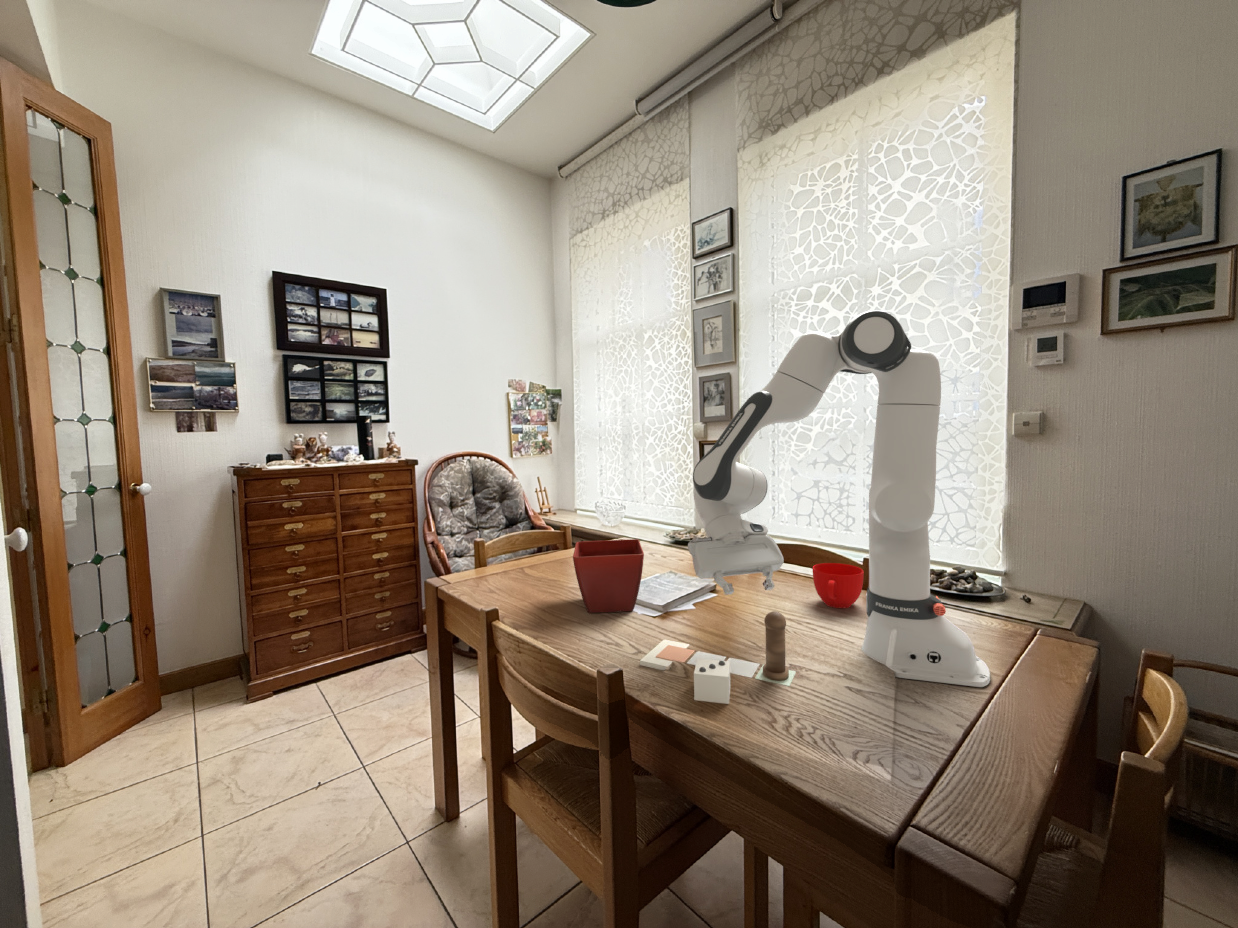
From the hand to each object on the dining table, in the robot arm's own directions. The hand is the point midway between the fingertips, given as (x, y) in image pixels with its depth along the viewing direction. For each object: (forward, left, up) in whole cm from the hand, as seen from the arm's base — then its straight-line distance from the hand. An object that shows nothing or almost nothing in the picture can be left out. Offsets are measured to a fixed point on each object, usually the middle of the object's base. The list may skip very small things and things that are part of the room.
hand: (750, 590), depth 104 cm
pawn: (-7, +7, -14) cm, 17 cm away
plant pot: (+45, -16, -15) cm, 50 cm away
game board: (+4, +7, -15) cm, 17 cm away
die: (+2, +19, -15) cm, 24 cm away
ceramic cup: (-12, -42, -15) cm, 47 cm away
